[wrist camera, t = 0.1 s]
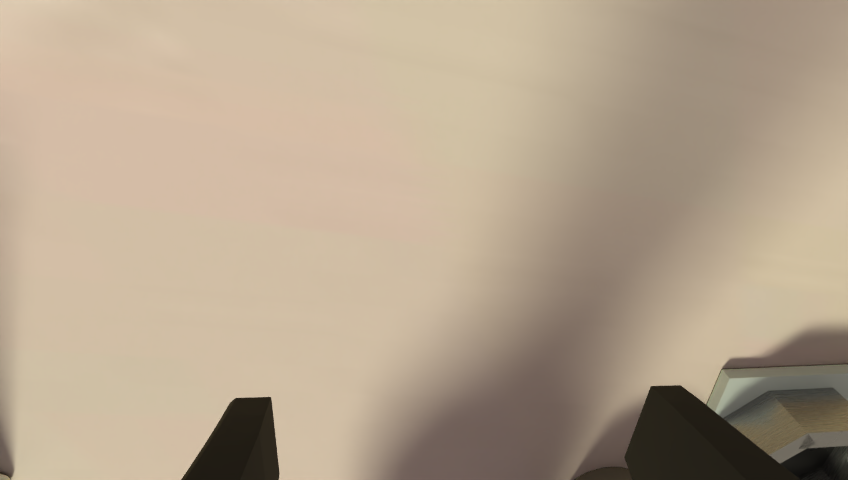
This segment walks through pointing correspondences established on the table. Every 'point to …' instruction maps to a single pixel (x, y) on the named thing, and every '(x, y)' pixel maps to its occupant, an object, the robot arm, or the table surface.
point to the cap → (607, 474)
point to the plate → (772, 383)
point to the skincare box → (4, 477)
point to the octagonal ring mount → (799, 430)
